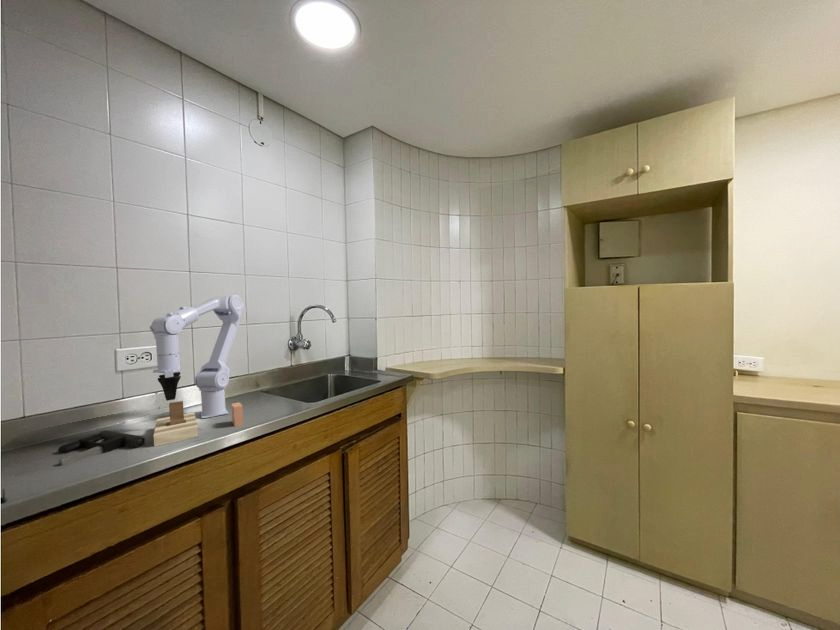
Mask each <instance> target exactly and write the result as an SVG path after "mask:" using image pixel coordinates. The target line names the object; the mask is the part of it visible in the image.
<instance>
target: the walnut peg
mask: <svg viewBox="0 0 840 630" xmlns="http://www.w3.org/2000/svg"><path fill="white" fill-rule="evenodd" d="M168 407H169V408H168V409H169V411H168V412H169V417H170V426H171V425H176V424H181V423H184V414H185V412H184V401H183V400H179V401H172V402H169V403H168Z"/></svg>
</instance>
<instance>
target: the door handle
mask: <svg viewBox="0 0 840 630" xmlns="http://www.w3.org/2000/svg"><path fill="white" fill-rule="evenodd" d="M146 439H148V438H147V437H146V438H145V437H143V436H141V435H135V434H130V433H125V432H124V433H123V432H117V431H111V430H102V431H100V432H99V433H97V434H93V435H90V436H88V437H83V438H80V439H78V440H76V441H71V442H69V443H66V444H63V445H60V446H59V447H58V449H57V452H58V453H59V454H60V453H64V454H67V453H71V451H72V452H75V451H77V450H82V449H84V448H85V449H86V450H83V451H80V452H76V453H74V454H71V455H68V456H65V457H63V458H60V459H58V464H59V466H63V467H64V466H65V465H70V464H72V463H75V462H79V461H81V460H85V459H88V458H92V457H94V456H97V455H100V454H102V453H104V454H107V453H109V452H112V451H114V450H119V449H122V448H124V447H129V448H130V447H131V448H139V447H140V448H141V447H143V446H144V445H145V443H146ZM74 450H75V451H74Z"/></svg>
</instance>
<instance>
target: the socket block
mask: <svg viewBox="0 0 840 630" xmlns="http://www.w3.org/2000/svg"><path fill="white" fill-rule="evenodd" d="M198 428H199V427H198V423H197V419H196V414H195V412H189V413H184V423H181V424H176V425H171V426H170V416H166V417H162V418H157V419H156V421H155V427H154V432H153V446H154V447H157V446H161V445H162V446H163V445H167V444H171V443H176V442H181V441H184V440H185V441H186V440H190V439H195V438H198V437H199V429H198Z"/></svg>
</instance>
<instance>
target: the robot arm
mask: <svg viewBox="0 0 840 630" xmlns="http://www.w3.org/2000/svg"><path fill="white" fill-rule="evenodd" d="M244 308H245V305H244V301H243V300H242V298H241V297H240V296H239V295H237V294H233V295H224V296H219V295H218V296H214V297H210V298H208V299H207V300H204V301H203V302H201V303H199V304H198V305H195V306H193V307H192V306H186V305H183V306H180V307H179V309H177V310H176V311H173V312H172V311H169V312H168V313H166V316H158V317H155V319H153V320H152V322H151V325H149V330H150V331H151V333H152V334H153V336H154V340H155V347H156V348H155V349H156V364H157V369H153V370H152V373H154V374H155V373H157V374H158V373H159V374H160V375H158V377H157V382H159V385H161V387H162V390H163V394H164V398H165V400H166V401H167V402H168V401H174V400H176V395H177V390H178V385H179V381H180V380H181V377H182V376H181V372H180V371H181V370H182V367H181V360H180V359H181V358H180V356H181V355H180V342H179V340H180V338H179V334H180V333H181V332H182V331H183V328H185V327H188V326H190V325H192V324H194V323H196V322H197V321H198V320H199V317H200V316H202V315H205V314H208V313H209V312H212V311H213V312H214V314H215V315H216V316H217V318H218V319H219V320H221V321H222V325H221V328H220V331H219V333H218V336H217V338H216V342H215V344H214V345H213V346H214V347H213V349H212V352H211V355H210V358H209V360H208V362H207V363H204V364H203V365H202V366H201V368H200V370H199V371H198V372H197V373H196V375H195V377H194V384H195V386H196V388H198V390H199V392H200V398H201V399H200V400H201V411H200V412H199V414H200V417H201V419H207V418H212V417H218V416H223V415H224V416H225V415H227V414H229V411H228V409H226V394H225V392H226V391H225V389H226V388H227V386H228V384H229V382H230V372H231V369H230V368H229V366H227V362H228V359H229V356H230V354H231V350H232V348H233V344H234V341H235V339H236V336H237V333H238V330H239V326H240V323H241V315H242V314H243V310H244Z"/></svg>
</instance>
